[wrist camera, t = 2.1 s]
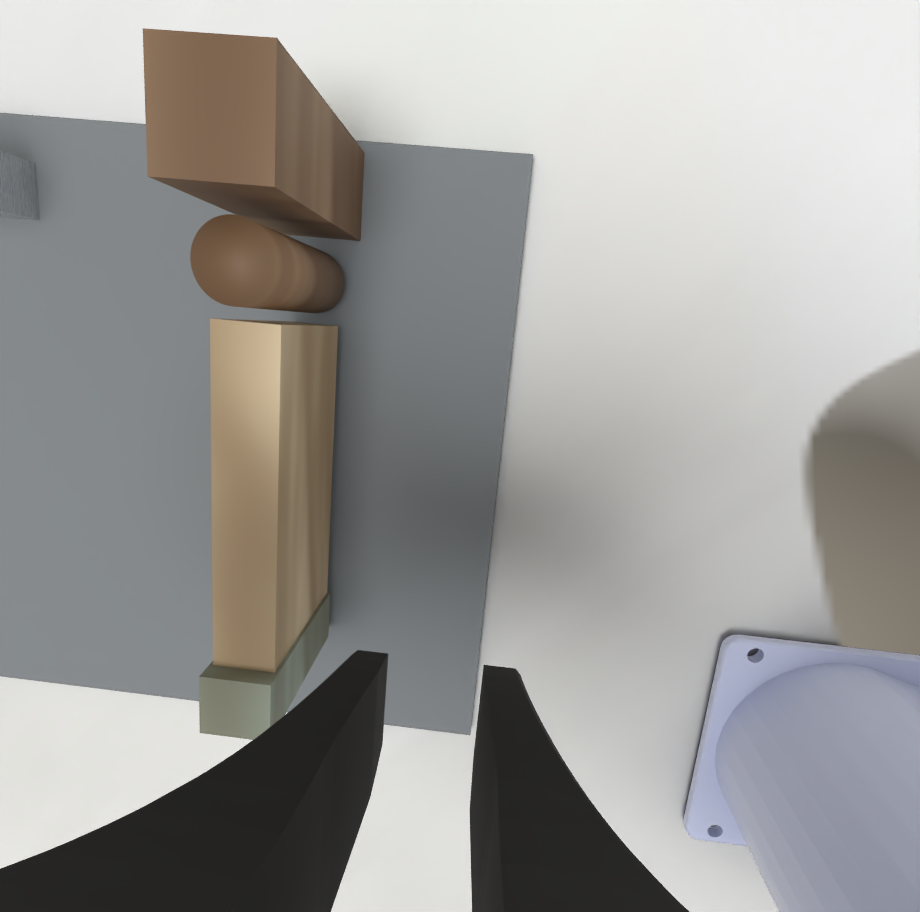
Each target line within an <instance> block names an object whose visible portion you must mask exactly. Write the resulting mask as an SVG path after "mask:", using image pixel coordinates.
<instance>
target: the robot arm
mask: <svg viewBox="0 0 920 912" xmlns="http://www.w3.org/2000/svg"><path fill="white" fill-rule="evenodd" d="M755 648H758V649H759V650H758V652H757V653H756V654H755V655H753V656H747V654H748V652H749V651H750V650H752V649H755ZM387 668H388V653H380V652H371V651H363V650H357V651H356V652H354V653H353V654H352V655H351V656H350V657H349V658H348V659H346V660H345V661H344V662H343V663H342V664H341V665H340V666H339V667H338V668H337V669H336V670H335V671H334V672H333V673H332V674H331V675H330V676H329V677H328V678H327V679H326V680H324V681H323V682H322V683H321V684H320V685H319V686H318V687H317V688H316V689H315V690H314V691H312V692H311V693H310V694H309V695H308V696H307V697H306V698H304V699H303V700H302V701H301V702H300V703H299V704H298V705H296V706H295V707H294V708H293V709H292V710H291V711H289V712H288V713H287V714H286V715H285V716H283V717H282V718H281V719H280V720H278V721H277V722H276V723H274V724H273V725H272V726H271V727H269V728H268V729H267V730H265V731H264V732H263V733H262V734H260V735H259V736H258V737H257V738H255V739H254V740H253V741H251V742H250V743H248V744H247V745H246V746H244V747H243V748H241V749H240V750H239V751H237V752H236V753H234V754H233V755H231V756H230V757H228V758H227V759H225V760H224V761H222V762H221V763H219V764H218V765H216V766H214V767H213V768H211V769H210V770H208V771H207V772H205V773H203V774H202V775H200V776H198V777H197V778H195V779H193V780H191V781H189V782H188V783H186V784H184V785H182V786H180V787H179V788H177V789H175V790H173V791H171V792H170V793H168V794H166V795H164V796H162V797H161V798H159V799H157V800H155V801H153V802H152V803H150V804H148V805H146V806H144V807H142V808H140V809H138V810H136V811H134V812H132V813H130V814H128V815H126V816H124V817H122V818H120V819H118V820H116V821H114V822H112V823H110V824H108V825H105V826H103V827H101V828H99V829H97V830H94V831H92V832H90V833H88V834H85V835H83V836H81V837H79V838H76V839H74V840H72V841H70V842H67V843H65V844H63V845H60V846H58V847H55V848H53V849H51V850H48V851H46V852H43V853H41V854H38V855H35V856H33V857H30V858H27V859H25V860H22V861H20V862H17V863H14V864H12V865H9V866H7V867H4V868H1V869H0V912H331V909H332V906H333V903H334V900H335V897H336V895H337V892H338V889H339V886H340V883H341V880H342V877H343V874H344V872H345V869H346V866H347V863H348V860H349V857H350V854H351V851H352V849H353V846H354V843H355V840H356V837H357V834H358V831H359V828H360V825H361V822H362V819H363V817H364V814H365V811H366V808H367V805H368V802H369V799H370V796H371V791H372V787H373V783H374V779H375V774H376V770H377V766H378V761H379V757H380V752H381V748H382V741H383V726H384V712H385V697H386V683H387ZM712 825H717V826H715V827H714V828H709V827H710V826H712ZM684 826H685V829H686V831H687V833H688V835H689V836H691V837H692V838H694V839H697V840H704V841H712V842H719V843H727V844H735V845H742V846H748V848H749V850H750V852H751V854H752V857H753V859H754V861H755V863H756V865H757V867H758V869H759V871H760V873H761V875H762V877H763V879H764V882H765V884H766V886H767V888H768V890H769V892H770V894H771V896H772V898H773V900H774V902H775V905H776V907H777V909H778V911H779V912H920V655H913V654H904V653H895V652H887V651H878V650H869V649H861V648H852V647H843V646H835V645H826V644H817V643H809V642H800V641H791V640H782V639H774V638H765V637H756V636H748V635H731V636H729V637H727V638H726V639H725V640H724V641H723V642H722V644H721V647H720V652H719V656H718V661H717V666H716V670H715V675H714V680H713V684H712V689H711V694H710V698H709V703H708V708H707V712H706V717H705V722H704V726H703V731H702V736H701V740H700V745H699V750H698V754H697V759H696V764H695V768H694V773H693V777H692V782H691V787H690V791H689V796H688V801H687V805H686V810H685V815H684ZM470 841H471V881H472V912H689V911H688V910H687V909H686V908H685V907H684V906H683V905H682V904H680V903H679V902H678V901H677V900H676V899H675V898H674V897H673V896H672V895H671V894H670V893H669V892H668V891H667V890H666V889H665V888H664V887H663V885H662V884H661V883H660V882H659V881H658V880H657V879H656V878H655V877H654V876H653V875H652V874H651V873H650V872H649V870H648V869H647V868H646V867H645V866H644V865H643V864H642V863H641V862H640V861H639V860H638V859H637V858H636V857H635V855H634V854H633V853H632V852H631V851H630V850H629V849H628V848H627V847H626V845H625V844H624V843H623V842H622V841H621V839H620V838H619V837H618V836H617V835H616V833H615V832H614V831H613V830H612V828H611V827H610V826H609V825H608V823H607V822H606V821H605V819H604V818H603V817H602V816H601V814H600V813H599V812H598V810H597V809H596V808H595V806H594V805H593V804H592V802H591V801H590V800H589V798H588V797H587V795H586V794H585V792H584V791H583V790H582V788H581V787H580V785H579V784H578V782H577V781H576V779H575V778H574V776H573V775H572V773H571V771H570V770H569V768H568V767H567V765H566V764H565V762H564V761H563V759H562V757H561V756H560V754H559V752H558V751H557V749H556V747H555V745H554V744H553V742H552V740H551V738H550V737H549V735H548V733H547V731H546V729H545V728H544V726H543V724H542V722H541V720H540V718H539V716H538V714H537V712H536V710H535V708H534V706H533V704H532V702H531V700H530V698H529V695H528V693H527V691H526V689H525V686H524V684H523V681H522V678H521V675H520V674H519V673H518V671H517V670H516V669H513V668H505V667H497V666H488V665H484V668H483V677H482V686H481V695H480V704H479V713H478V722H477V731H476V740H475V749H474V759H473V773H472V786H471V800H470Z"/></svg>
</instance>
